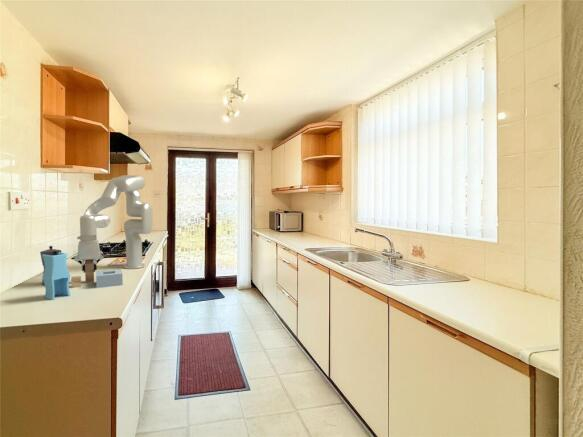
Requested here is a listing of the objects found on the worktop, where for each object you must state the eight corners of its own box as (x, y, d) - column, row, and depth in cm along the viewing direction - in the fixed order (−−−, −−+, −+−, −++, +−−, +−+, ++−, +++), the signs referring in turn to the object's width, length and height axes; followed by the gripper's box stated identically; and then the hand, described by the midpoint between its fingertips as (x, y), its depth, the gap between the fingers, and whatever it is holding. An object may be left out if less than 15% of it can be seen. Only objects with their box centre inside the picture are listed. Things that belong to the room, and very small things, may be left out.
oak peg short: (72, 286, 177) (71, 276, 177) (81, 285, 179) (80, 275, 179) (71, 287, 174) (71, 278, 173) (80, 286, 176) (80, 277, 175)
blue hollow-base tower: (61, 293, 164) (60, 252, 163) (70, 295, 161) (69, 253, 159) (43, 297, 157) (41, 254, 156) (52, 300, 154) (50, 256, 152)
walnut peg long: (85, 281, 186) (85, 259, 185) (94, 280, 188) (93, 259, 187) (85, 283, 183) (84, 261, 182) (94, 282, 185) (93, 260, 184)
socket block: (96, 282, 184) (96, 271, 184) (121, 279, 190) (120, 269, 190) (96, 287, 174) (96, 276, 174) (122, 284, 180) (122, 273, 180)
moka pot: (57, 279, 190) (56, 243, 189) (69, 283, 182) (68, 246, 180) (37, 282, 183) (35, 245, 181) (48, 287, 174) (47, 248, 172)
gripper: (69, 240, 176) (70, 274, 178) (106, 238, 185) (107, 271, 186) (70, 238, 183) (71, 271, 184) (106, 236, 191) (106, 268, 192)
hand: (89, 271), depth 185 cm, fingers closed on walnut peg long, 4 cm apart
